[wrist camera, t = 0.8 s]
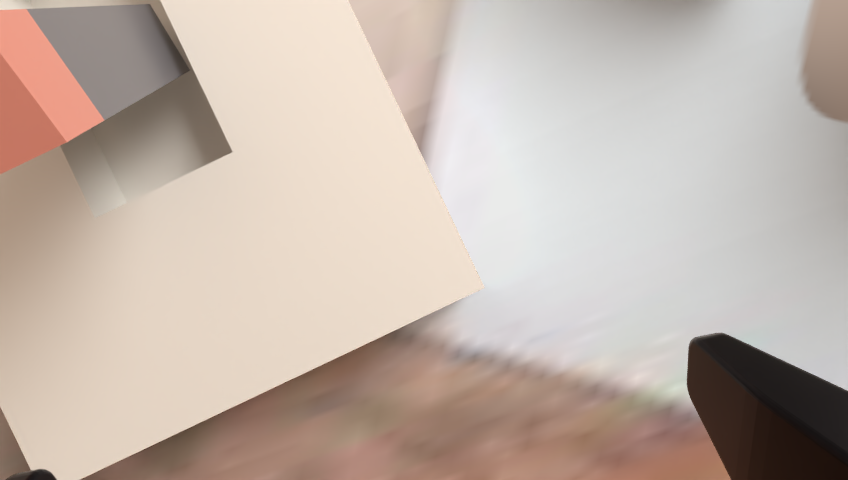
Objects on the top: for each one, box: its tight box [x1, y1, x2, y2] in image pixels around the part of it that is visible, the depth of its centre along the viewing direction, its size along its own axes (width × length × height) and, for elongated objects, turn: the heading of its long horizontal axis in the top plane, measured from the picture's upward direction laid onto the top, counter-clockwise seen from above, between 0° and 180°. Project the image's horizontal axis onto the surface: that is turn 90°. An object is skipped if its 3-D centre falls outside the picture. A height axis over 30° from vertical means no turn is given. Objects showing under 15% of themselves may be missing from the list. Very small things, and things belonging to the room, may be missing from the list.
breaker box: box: [0, 0, 484, 480], centre depth 20 cm, size 20×16×4 cm
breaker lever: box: [0, 4, 190, 174], centre depth 15 cm, size 2×4×11 cm, turn 115°
